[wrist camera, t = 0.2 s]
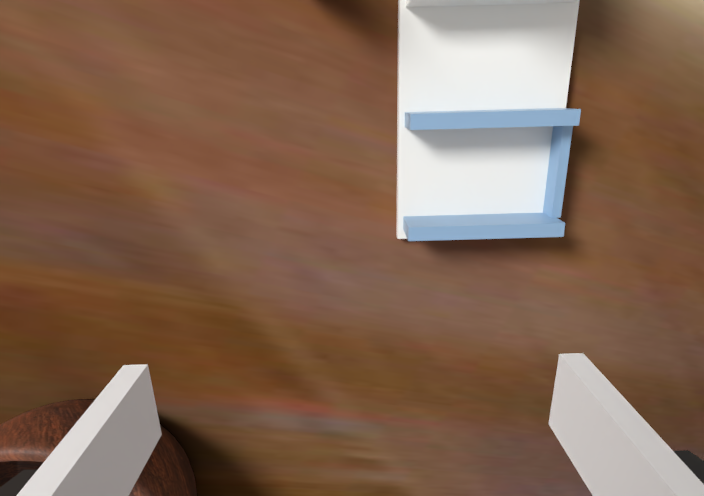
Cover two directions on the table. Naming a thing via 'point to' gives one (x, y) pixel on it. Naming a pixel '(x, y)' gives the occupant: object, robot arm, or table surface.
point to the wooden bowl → (53, 425)
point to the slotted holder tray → (483, 117)
